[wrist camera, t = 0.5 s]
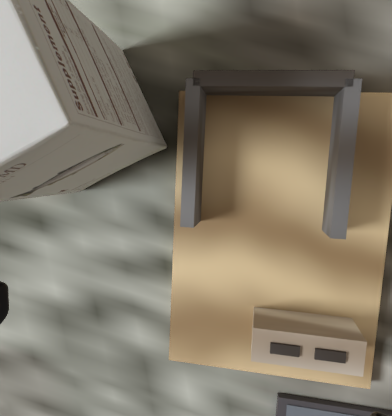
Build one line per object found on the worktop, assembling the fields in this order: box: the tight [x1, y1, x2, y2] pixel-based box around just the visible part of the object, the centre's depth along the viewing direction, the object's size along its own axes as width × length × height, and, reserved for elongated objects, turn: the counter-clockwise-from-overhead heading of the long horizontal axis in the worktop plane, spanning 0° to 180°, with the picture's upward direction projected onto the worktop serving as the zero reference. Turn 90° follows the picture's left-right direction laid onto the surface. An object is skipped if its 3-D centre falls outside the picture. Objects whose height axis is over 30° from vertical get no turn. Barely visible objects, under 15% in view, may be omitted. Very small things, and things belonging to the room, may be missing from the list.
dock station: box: [169, 70, 392, 389], centre depth 20 cm, size 19×13×4 cm
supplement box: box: [0, 0, 167, 202], centre depth 17 cm, size 7×7×13 cm
